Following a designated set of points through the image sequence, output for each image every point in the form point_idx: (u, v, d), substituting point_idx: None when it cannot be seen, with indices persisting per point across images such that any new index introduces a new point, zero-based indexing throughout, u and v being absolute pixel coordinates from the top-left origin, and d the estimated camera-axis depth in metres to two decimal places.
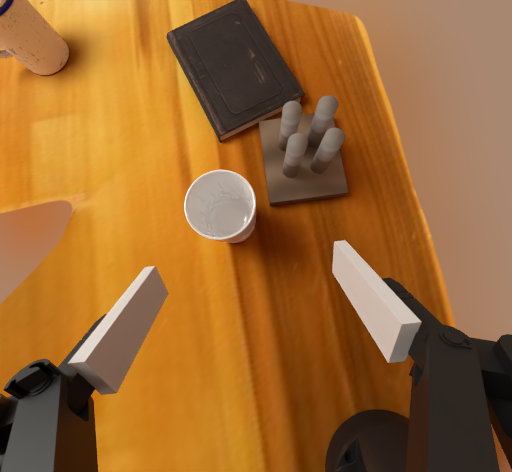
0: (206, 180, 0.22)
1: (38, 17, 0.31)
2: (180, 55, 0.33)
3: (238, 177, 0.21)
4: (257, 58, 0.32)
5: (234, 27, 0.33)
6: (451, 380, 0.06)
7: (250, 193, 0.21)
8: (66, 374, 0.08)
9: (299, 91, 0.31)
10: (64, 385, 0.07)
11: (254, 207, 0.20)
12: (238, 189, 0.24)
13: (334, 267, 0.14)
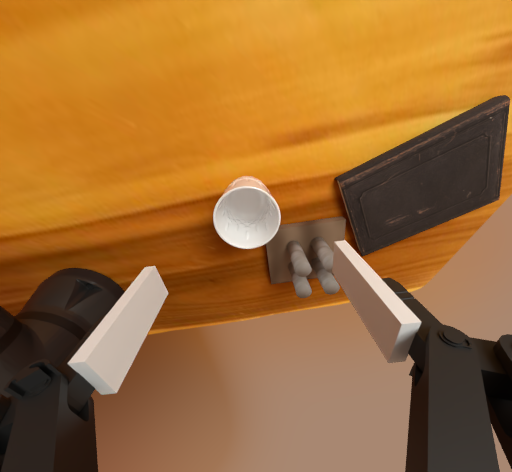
0: (273, 201, 0.22)
1: None
2: (463, 123, 0.25)
3: (272, 233, 0.23)
4: (415, 216, 0.32)
5: (465, 191, 0.30)
6: (451, 380, 0.06)
7: (259, 239, 0.24)
8: (66, 374, 0.08)
9: (365, 252, 0.35)
10: (64, 385, 0.07)
11: (244, 248, 0.24)
12: (269, 218, 0.26)
13: (334, 267, 0.14)
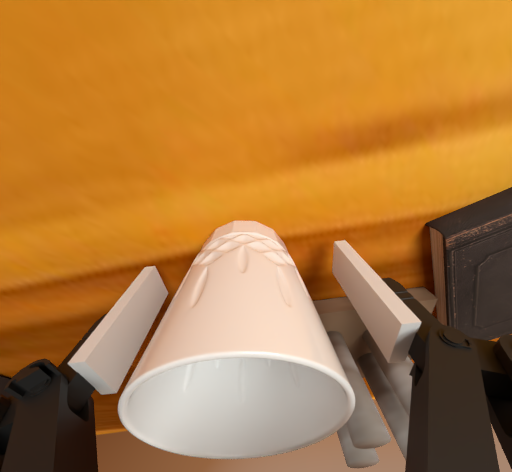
0: None
1: None
2: None
3: (318, 428, 0.08)
4: None
5: None
6: (451, 380, 0.06)
7: (276, 417, 0.09)
8: (66, 374, 0.08)
9: None
10: (64, 385, 0.07)
11: (234, 457, 0.08)
12: None
13: (334, 267, 0.14)
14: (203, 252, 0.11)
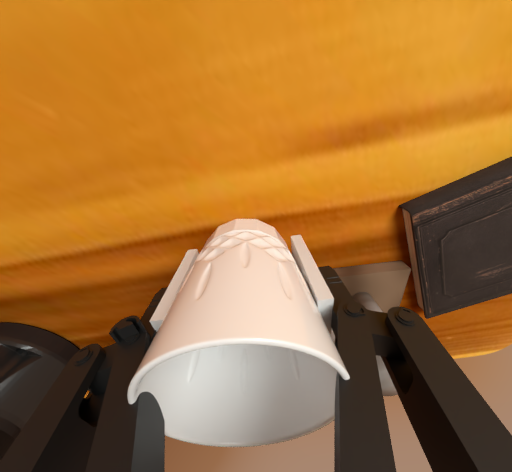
0: None
1: None
2: None
3: (317, 417, 0.08)
4: None
5: None
6: (353, 345, 0.07)
7: (277, 408, 0.09)
8: (149, 332, 0.09)
9: (433, 314, 0.23)
10: (147, 342, 0.09)
11: (237, 445, 0.09)
12: None
13: None
14: (206, 249, 0.11)
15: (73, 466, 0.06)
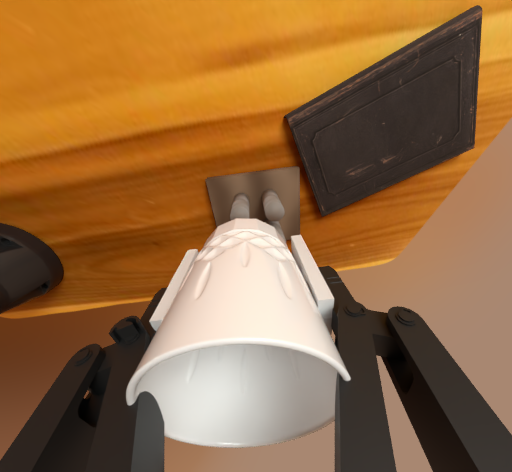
0: None
1: None
2: (428, 41, 0.21)
3: (318, 417, 0.08)
4: (379, 166, 0.28)
5: (434, 135, 0.26)
6: (353, 345, 0.07)
7: (277, 408, 0.09)
8: (149, 332, 0.09)
9: (325, 212, 0.31)
10: (147, 343, 0.09)
11: (236, 446, 0.08)
12: None
13: None
14: (206, 248, 0.11)
15: (73, 466, 0.06)
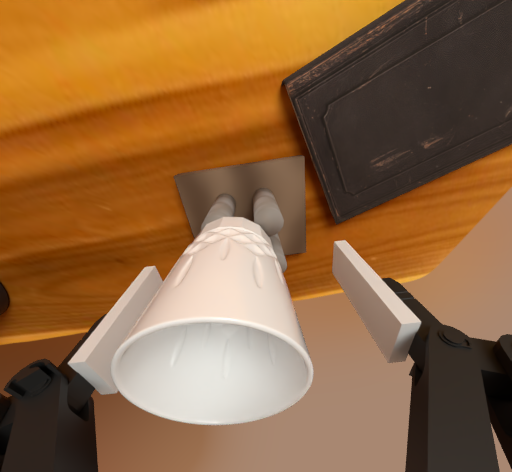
0: None
1: None
2: None
3: (287, 397, 0.09)
4: (418, 153, 0.19)
5: (503, 104, 0.18)
6: (451, 380, 0.06)
7: (253, 391, 0.10)
8: (66, 374, 0.08)
9: (341, 218, 0.23)
10: (64, 385, 0.07)
11: (214, 423, 0.09)
12: None
13: (334, 267, 0.14)
14: (192, 244, 0.12)
15: None
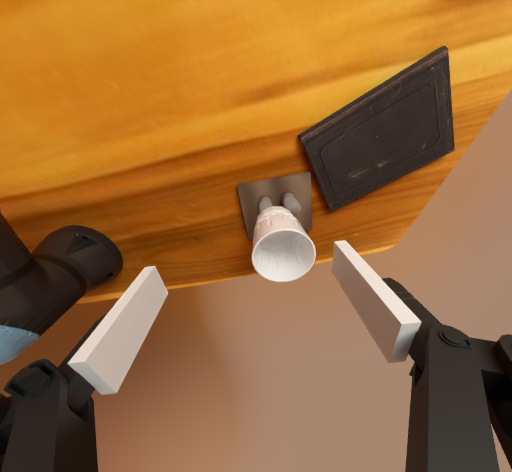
0: (308, 240, 0.23)
1: None
2: (407, 74, 0.28)
3: (306, 268, 0.24)
4: (375, 169, 0.34)
5: (419, 142, 0.32)
6: (451, 380, 0.06)
7: (292, 272, 0.26)
8: (66, 374, 0.08)
9: (333, 208, 0.38)
10: (64, 385, 0.07)
11: (279, 281, 0.25)
12: (300, 250, 0.27)
13: (334, 267, 0.14)
14: (263, 217, 0.27)
15: None
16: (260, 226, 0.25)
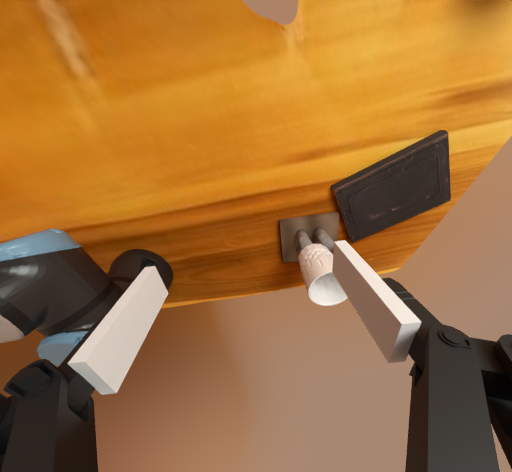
0: None
1: None
2: (417, 148, 0.37)
3: (346, 296, 0.33)
4: (390, 212, 0.44)
5: (424, 194, 0.42)
6: (451, 380, 0.06)
7: (333, 298, 0.34)
8: (66, 374, 0.08)
9: (354, 240, 0.47)
10: (64, 385, 0.07)
11: (324, 305, 0.34)
12: None
13: (334, 267, 0.14)
14: (310, 254, 0.36)
15: None
16: (311, 264, 0.34)
